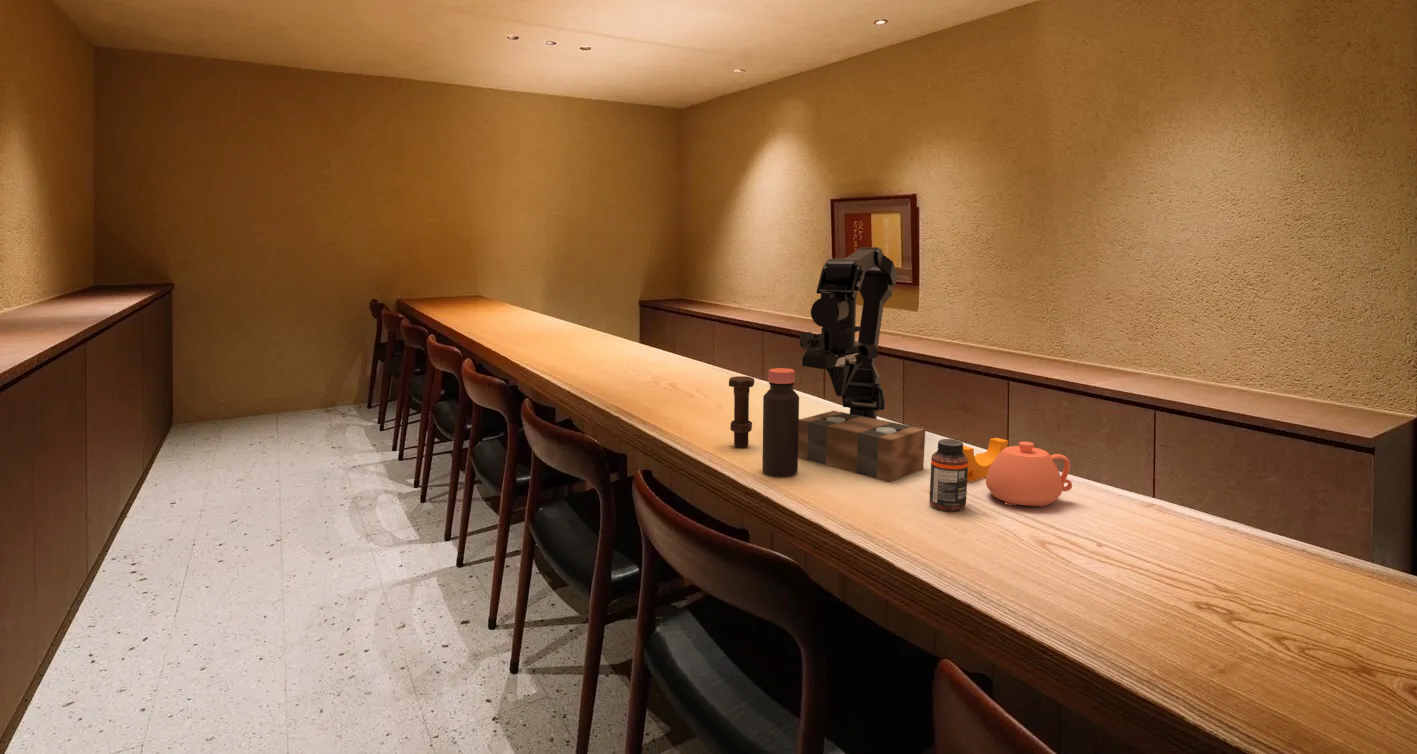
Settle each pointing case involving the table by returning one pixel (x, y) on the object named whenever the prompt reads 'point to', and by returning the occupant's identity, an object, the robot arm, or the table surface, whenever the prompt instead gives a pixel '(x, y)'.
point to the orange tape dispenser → (983, 458)
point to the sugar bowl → (1027, 476)
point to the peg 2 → (886, 430)
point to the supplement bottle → (949, 476)
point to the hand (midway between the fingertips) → (839, 396)
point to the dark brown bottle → (780, 424)
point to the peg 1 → (835, 419)
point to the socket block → (861, 445)
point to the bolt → (741, 409)
